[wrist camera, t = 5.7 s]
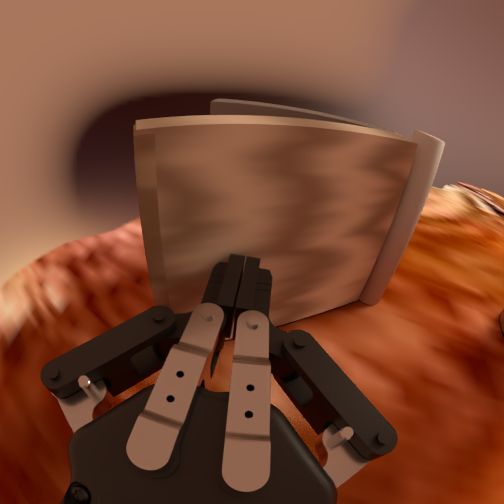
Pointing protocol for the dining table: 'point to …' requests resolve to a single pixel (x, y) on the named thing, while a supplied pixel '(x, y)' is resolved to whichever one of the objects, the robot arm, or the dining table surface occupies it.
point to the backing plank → (410, 199)
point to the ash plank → (267, 205)
